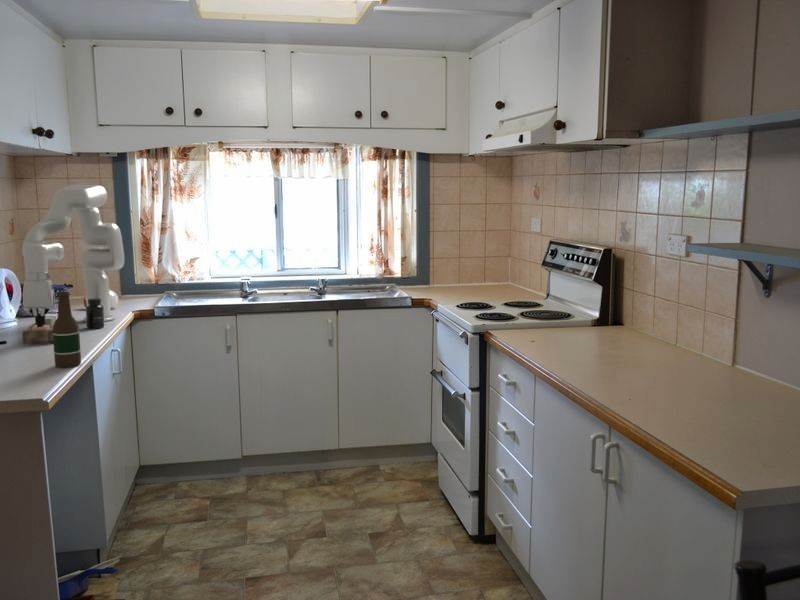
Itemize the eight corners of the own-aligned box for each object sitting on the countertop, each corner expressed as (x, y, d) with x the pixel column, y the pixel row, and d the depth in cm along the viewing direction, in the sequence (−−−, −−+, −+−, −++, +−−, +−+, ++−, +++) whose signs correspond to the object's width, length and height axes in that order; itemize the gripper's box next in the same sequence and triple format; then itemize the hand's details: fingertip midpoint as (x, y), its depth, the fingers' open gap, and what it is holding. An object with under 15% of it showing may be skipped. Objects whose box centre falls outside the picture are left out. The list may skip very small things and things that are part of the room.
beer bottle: (49, 367, 226) (44, 293, 223) (65, 362, 234) (60, 289, 230) (71, 368, 225) (66, 294, 221) (86, 363, 232) (81, 290, 229)
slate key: (40, 327, 272) (40, 317, 272) (55, 326, 273) (54, 316, 273) (37, 329, 268) (36, 319, 267) (51, 329, 269) (51, 318, 268)
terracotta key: (36, 335, 266) (35, 325, 265) (50, 335, 267) (50, 324, 266) (32, 338, 261) (31, 327, 260) (47, 337, 262) (46, 327, 262)
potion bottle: (120, 312, 339) (87, 316, 337) (122, 298, 346) (90, 302, 344) (114, 298, 332) (81, 302, 330) (116, 284, 339) (84, 288, 337)
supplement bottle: (98, 329, 288) (96, 300, 287) (83, 329, 290) (81, 299, 288) (108, 326, 295) (106, 298, 293) (93, 325, 296) (91, 297, 295)
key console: (23, 344, 260) (22, 331, 259) (38, 333, 280) (37, 321, 279) (55, 343, 262) (54, 330, 261) (68, 332, 282) (68, 320, 282)
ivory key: (45, 324, 279) (45, 314, 278) (59, 323, 280) (58, 313, 280) (42, 326, 274) (41, 316, 274) (56, 325, 275) (55, 315, 275)
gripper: (61, 275, 266) (64, 323, 268) (18, 276, 263) (21, 325, 265) (56, 277, 259) (60, 327, 261) (11, 278, 255) (15, 328, 258)
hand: (40, 326), depth 263 cm, fingers closed
